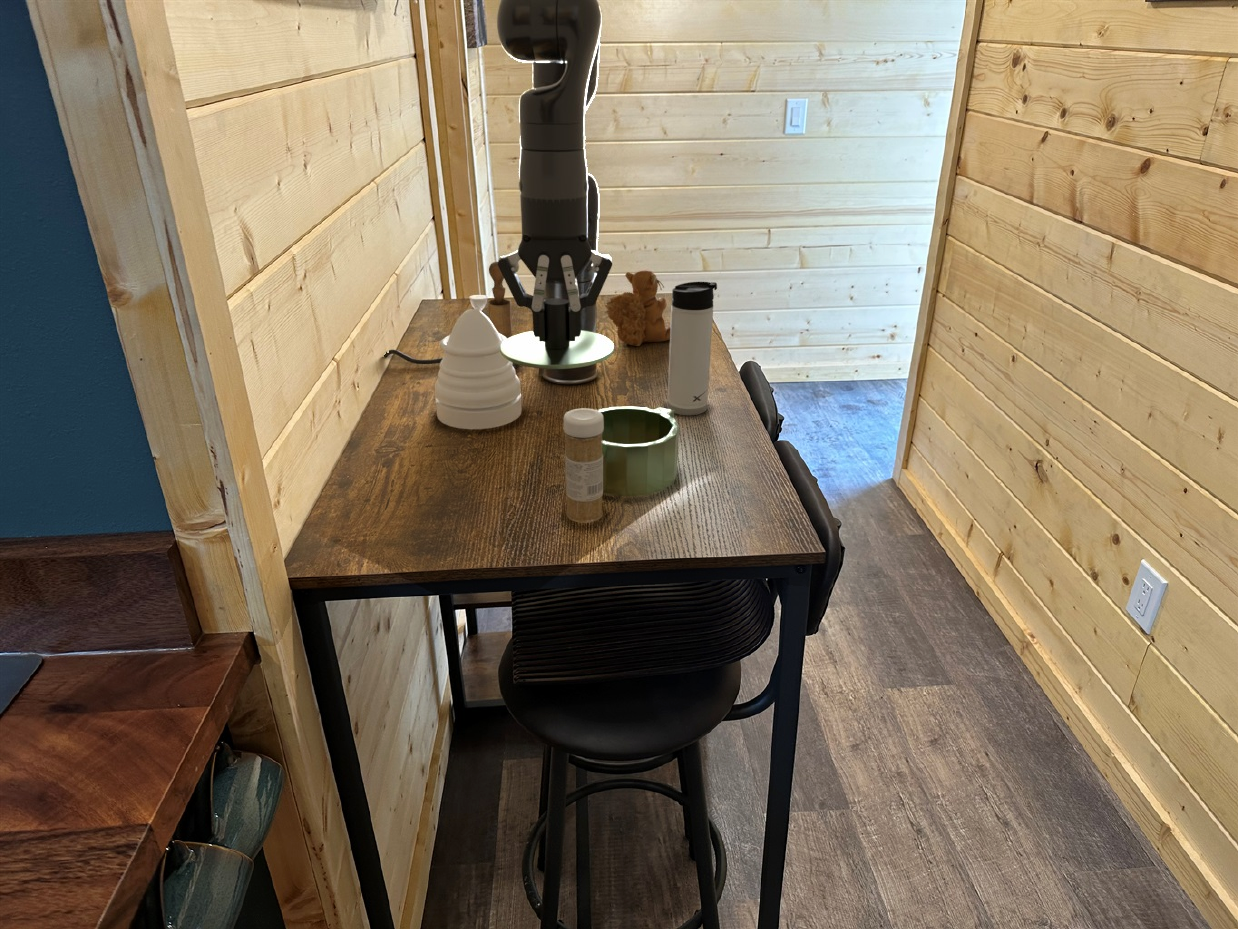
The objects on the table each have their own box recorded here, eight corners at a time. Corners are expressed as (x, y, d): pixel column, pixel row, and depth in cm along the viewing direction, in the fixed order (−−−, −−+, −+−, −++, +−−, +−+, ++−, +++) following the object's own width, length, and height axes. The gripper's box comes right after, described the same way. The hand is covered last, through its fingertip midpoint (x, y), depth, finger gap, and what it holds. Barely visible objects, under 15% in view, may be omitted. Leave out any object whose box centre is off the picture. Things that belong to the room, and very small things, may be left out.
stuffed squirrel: (680, 335, 164) (683, 269, 158) (640, 354, 154) (641, 284, 148) (638, 326, 169) (640, 262, 163) (597, 344, 159) (597, 275, 153)
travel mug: (707, 417, 127) (715, 289, 118) (664, 414, 128) (669, 286, 119) (711, 402, 133) (719, 278, 124) (670, 399, 134) (675, 276, 125)
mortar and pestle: (504, 371, 145) (499, 268, 137) (476, 364, 148) (469, 263, 140) (528, 360, 150) (524, 261, 142) (500, 354, 153) (494, 256, 145)
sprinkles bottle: (593, 505, 102) (593, 404, 96) (609, 522, 99) (610, 418, 93) (559, 512, 100) (557, 410, 94) (574, 530, 97) (572, 425, 91)
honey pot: (463, 395, 134) (454, 285, 126) (535, 406, 131) (531, 293, 123) (420, 425, 123) (408, 307, 115) (498, 437, 120) (491, 316, 112)
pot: (545, 488, 106) (543, 436, 103) (627, 441, 119) (628, 393, 116) (626, 519, 99) (627, 463, 96) (704, 465, 112) (707, 415, 109)
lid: (476, 357, 100) (472, 303, 97) (551, 330, 110) (550, 280, 107) (564, 382, 92) (562, 325, 89) (636, 351, 102) (637, 299, 99)
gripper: (614, 186, 96) (613, 330, 104) (493, 186, 95) (501, 330, 103) (618, 196, 89) (616, 349, 97) (487, 196, 89) (496, 350, 96)
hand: (557, 338), depth 100 cm, fingers closed on lid, 3 cm apart
